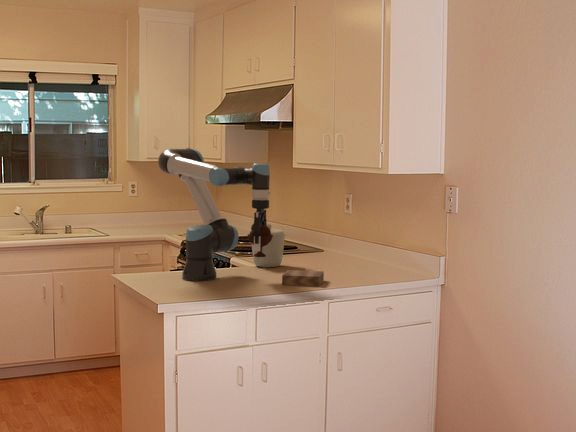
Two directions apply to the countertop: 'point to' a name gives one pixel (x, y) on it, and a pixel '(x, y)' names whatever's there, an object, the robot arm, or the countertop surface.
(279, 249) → the canister
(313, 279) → the walnut base
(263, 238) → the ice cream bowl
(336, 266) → the countertop surface
